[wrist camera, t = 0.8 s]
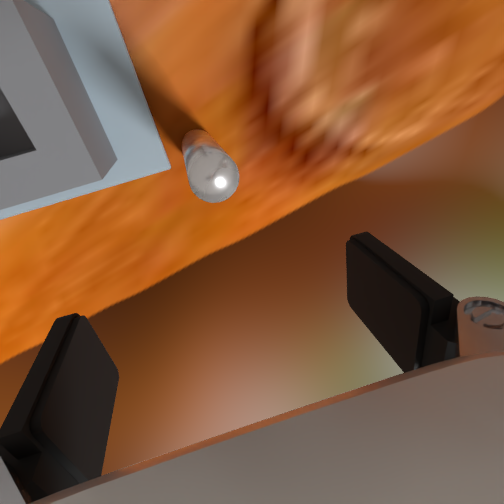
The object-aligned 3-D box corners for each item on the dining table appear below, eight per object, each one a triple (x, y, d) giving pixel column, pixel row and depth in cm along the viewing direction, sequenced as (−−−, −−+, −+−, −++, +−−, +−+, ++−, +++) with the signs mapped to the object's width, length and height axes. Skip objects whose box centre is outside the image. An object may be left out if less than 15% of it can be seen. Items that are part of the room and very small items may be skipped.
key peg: (208, 125, 28) (231, 145, 17) (218, 157, 29) (244, 194, 19) (176, 134, 27) (181, 160, 17) (188, 166, 29) (198, 208, 19)
